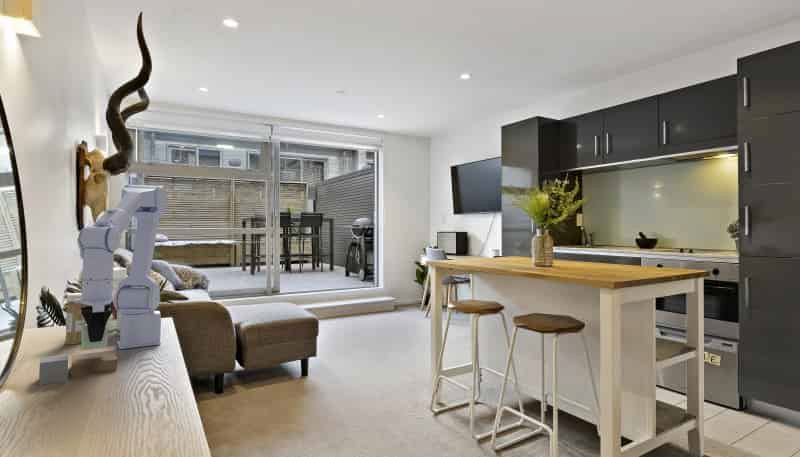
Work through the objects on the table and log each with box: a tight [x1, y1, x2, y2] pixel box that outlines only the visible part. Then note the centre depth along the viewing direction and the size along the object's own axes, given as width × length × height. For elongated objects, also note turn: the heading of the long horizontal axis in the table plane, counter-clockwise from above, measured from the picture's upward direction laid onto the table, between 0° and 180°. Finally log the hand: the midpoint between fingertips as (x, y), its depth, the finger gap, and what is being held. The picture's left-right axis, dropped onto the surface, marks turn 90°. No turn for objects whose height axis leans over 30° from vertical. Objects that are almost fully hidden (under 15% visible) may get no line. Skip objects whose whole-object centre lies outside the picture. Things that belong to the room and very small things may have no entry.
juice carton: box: [107, 266, 127, 332], centre depth 132 cm, size 8×9×19 cm
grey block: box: [38, 354, 69, 386], centre depth 88 cm, size 4×4×4 cm
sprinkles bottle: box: [64, 292, 87, 345], centre depth 116 cm, size 5×5×13 cm
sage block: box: [81, 324, 109, 351], centre depth 96 cm, size 4×4×4 cm
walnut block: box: [71, 349, 118, 378], centre depth 96 cm, size 8×8×3 cm
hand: (95, 339), depth 96 cm, fingers closed on sage block, 4 cm apart
